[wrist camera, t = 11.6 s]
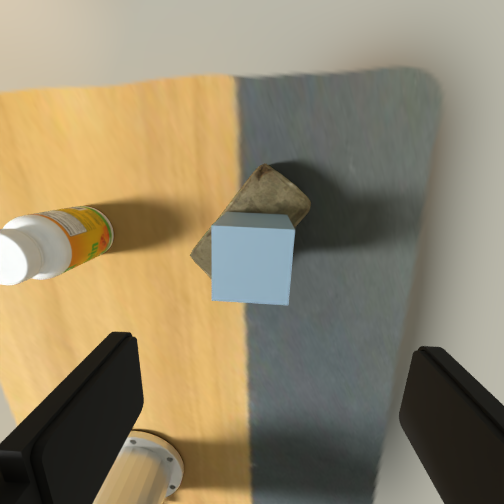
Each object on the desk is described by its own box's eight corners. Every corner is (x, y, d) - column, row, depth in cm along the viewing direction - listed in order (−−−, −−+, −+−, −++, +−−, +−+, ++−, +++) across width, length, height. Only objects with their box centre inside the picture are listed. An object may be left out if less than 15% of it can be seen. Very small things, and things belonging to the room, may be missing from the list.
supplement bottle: (96, 264, 28) (14, 308, 19) (56, 230, 27) (-52, 259, 18) (125, 231, 27) (51, 261, 18) (83, 194, 26) (-17, 205, 17)
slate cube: (282, 271, 22) (288, 305, 17) (225, 268, 23) (211, 300, 17) (287, 214, 21) (295, 229, 15) (226, 211, 21) (211, 225, 15)
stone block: (309, 197, 25) (318, 203, 20) (238, 280, 28) (233, 302, 23) (263, 159, 24) (262, 156, 20) (196, 249, 27) (181, 264, 23)
